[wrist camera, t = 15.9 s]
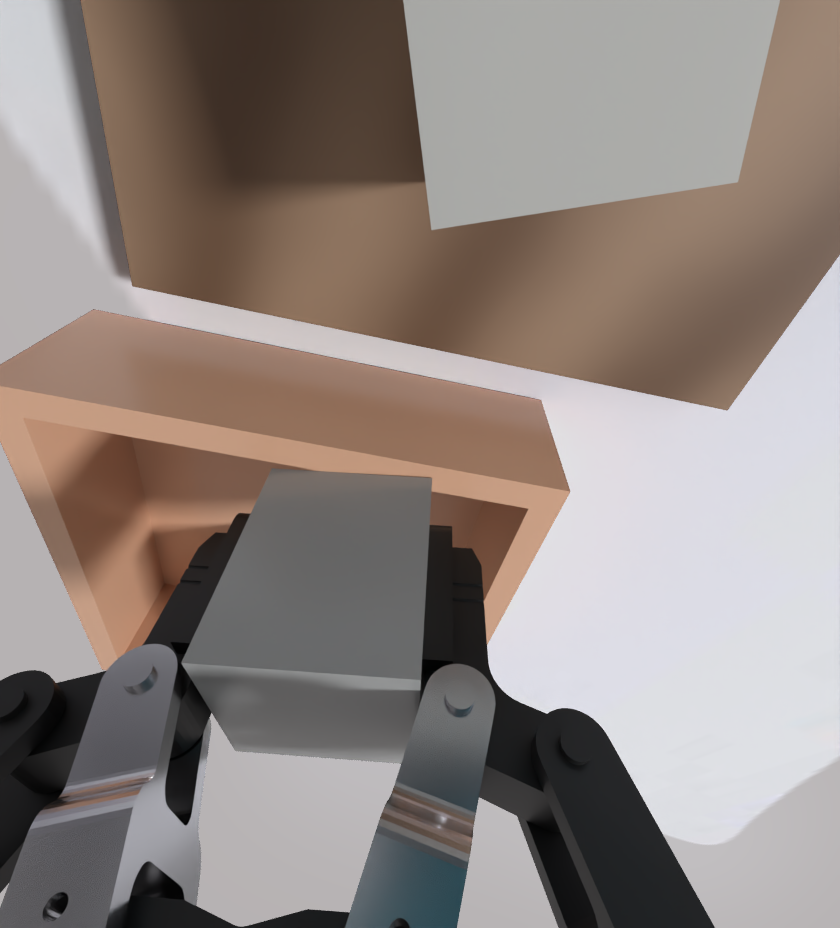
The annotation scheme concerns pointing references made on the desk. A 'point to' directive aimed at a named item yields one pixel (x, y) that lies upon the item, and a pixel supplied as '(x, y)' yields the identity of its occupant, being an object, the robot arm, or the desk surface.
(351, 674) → the stone
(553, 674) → the desk surface
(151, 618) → the bin
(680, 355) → the lid board
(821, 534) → the desk surface
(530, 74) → the pale grey cube
